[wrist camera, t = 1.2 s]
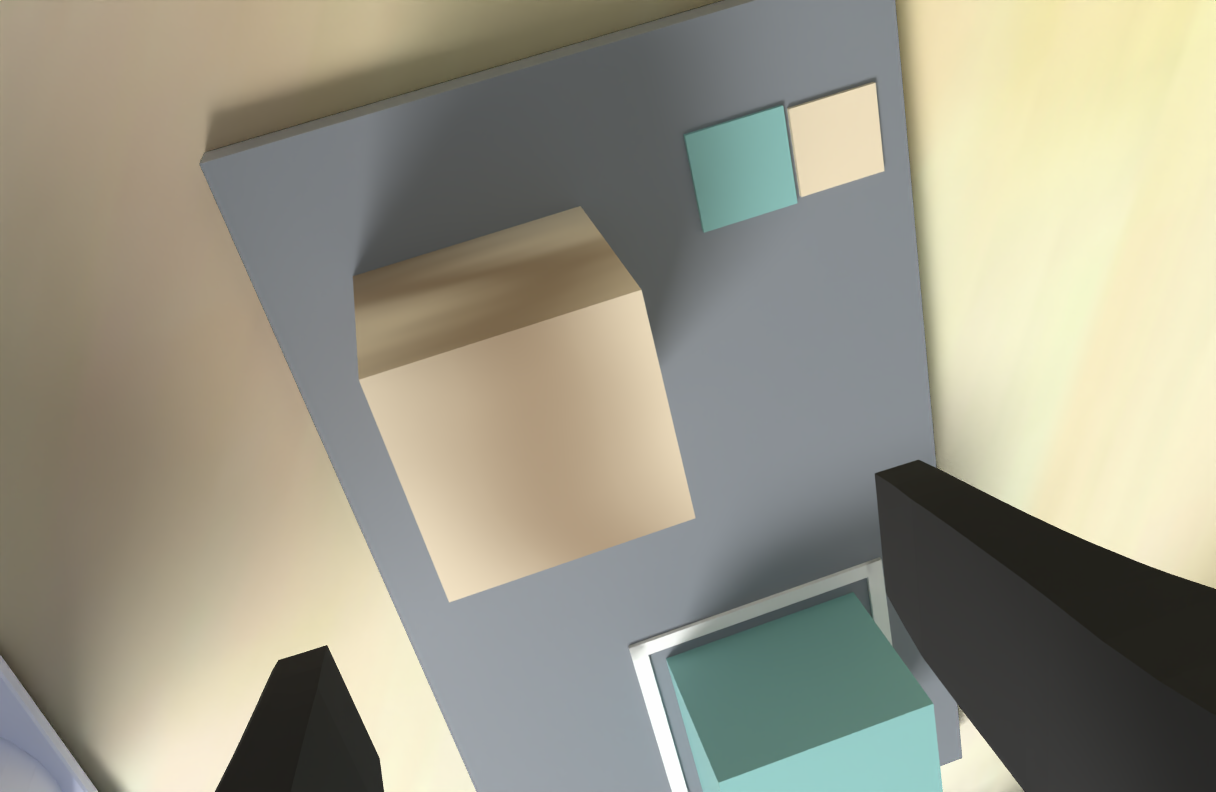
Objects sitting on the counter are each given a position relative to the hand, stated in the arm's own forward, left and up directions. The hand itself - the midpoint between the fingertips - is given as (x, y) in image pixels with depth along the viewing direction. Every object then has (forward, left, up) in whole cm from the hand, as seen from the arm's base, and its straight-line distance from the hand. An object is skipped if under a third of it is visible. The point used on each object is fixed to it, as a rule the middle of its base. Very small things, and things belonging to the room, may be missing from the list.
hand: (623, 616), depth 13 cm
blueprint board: (+2, -6, -10) cm, 12 cm away
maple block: (0, 0, -9) cm, 9 cm away
